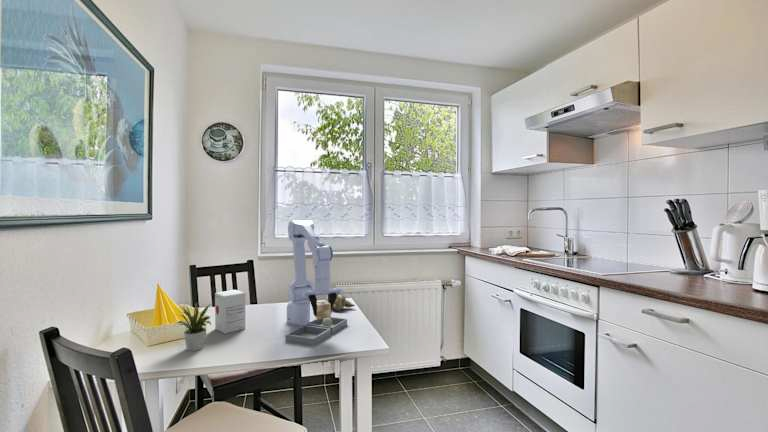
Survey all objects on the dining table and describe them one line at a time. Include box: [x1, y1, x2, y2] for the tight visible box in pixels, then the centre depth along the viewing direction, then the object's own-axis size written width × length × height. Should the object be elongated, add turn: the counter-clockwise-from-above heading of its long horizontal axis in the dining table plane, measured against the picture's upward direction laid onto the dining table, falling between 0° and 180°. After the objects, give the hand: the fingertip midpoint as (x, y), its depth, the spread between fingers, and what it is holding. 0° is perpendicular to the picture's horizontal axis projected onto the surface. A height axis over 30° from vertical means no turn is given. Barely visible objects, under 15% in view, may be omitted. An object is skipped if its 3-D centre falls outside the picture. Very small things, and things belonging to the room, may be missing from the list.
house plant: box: [175, 300, 212, 352], centre depth 129 cm, size 14×14×16 cm
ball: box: [322, 318, 332, 327], centre depth 151 cm, size 4×4×4 cm
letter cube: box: [314, 301, 332, 319], centre depth 139 cm, size 5×5×5 cm
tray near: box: [284, 324, 332, 347], centre depth 139 cm, size 12×12×3 cm
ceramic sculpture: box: [325, 294, 356, 311], centre depth 182 cm, size 11×9×15 cm
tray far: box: [305, 316, 348, 335], centre depth 151 cm, size 12×12×3 cm
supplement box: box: [214, 289, 246, 334], centre depth 151 cm, size 9×9×15 cm
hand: (322, 314), depth 139 cm, fingers closed on letter cube, 5 cm apart
